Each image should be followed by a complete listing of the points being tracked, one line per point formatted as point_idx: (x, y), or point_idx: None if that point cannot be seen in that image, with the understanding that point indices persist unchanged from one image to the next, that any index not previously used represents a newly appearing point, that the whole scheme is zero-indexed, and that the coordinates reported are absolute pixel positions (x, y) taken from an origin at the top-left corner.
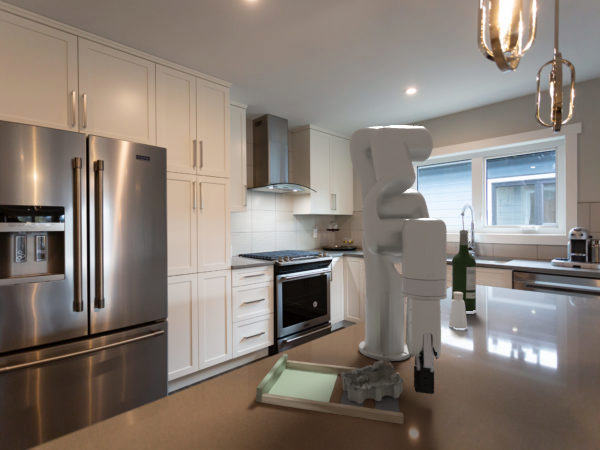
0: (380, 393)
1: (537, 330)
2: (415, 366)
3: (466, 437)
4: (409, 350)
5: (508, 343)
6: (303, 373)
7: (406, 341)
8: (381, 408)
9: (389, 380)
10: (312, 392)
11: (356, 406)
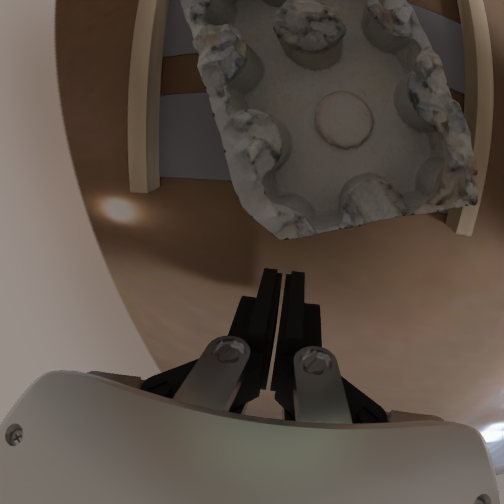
0: (241, 109)
1: (499, 455)
2: (293, 343)
3: (149, 320)
4: (58, 396)
5: (495, 439)
6: None
7: (365, 452)
8: (210, 115)
9: (414, 176)
10: None
11: (150, 34)
